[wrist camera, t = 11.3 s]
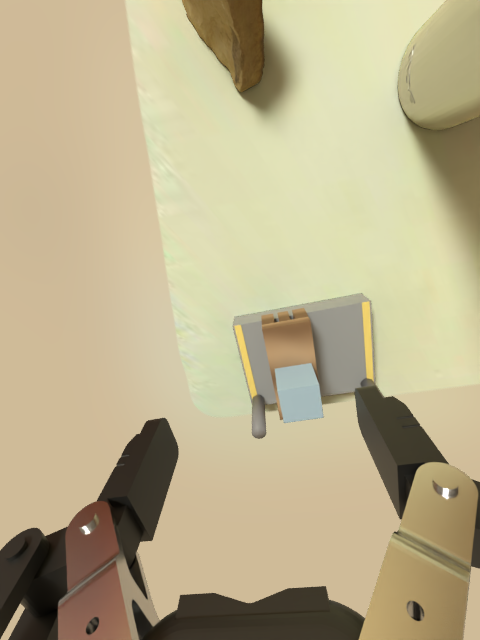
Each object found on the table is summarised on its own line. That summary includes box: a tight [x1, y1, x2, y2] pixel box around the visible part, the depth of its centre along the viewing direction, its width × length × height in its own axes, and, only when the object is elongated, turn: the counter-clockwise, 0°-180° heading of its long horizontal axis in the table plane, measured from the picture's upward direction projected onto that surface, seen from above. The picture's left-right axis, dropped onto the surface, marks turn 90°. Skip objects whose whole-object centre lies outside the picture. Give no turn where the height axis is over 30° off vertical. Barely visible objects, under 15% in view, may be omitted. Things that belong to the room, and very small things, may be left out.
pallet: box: [261, 308, 319, 420], centre depth 33 cm, size 12×5×4 cm, turn 12°
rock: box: [182, 0, 265, 92], centre depth 23 cm, size 11×9×10 cm
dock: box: [233, 293, 384, 439], centre depth 34 cm, size 16×12×9 cm
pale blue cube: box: [275, 363, 323, 423], centre depth 30 cm, size 4×4×4 cm
